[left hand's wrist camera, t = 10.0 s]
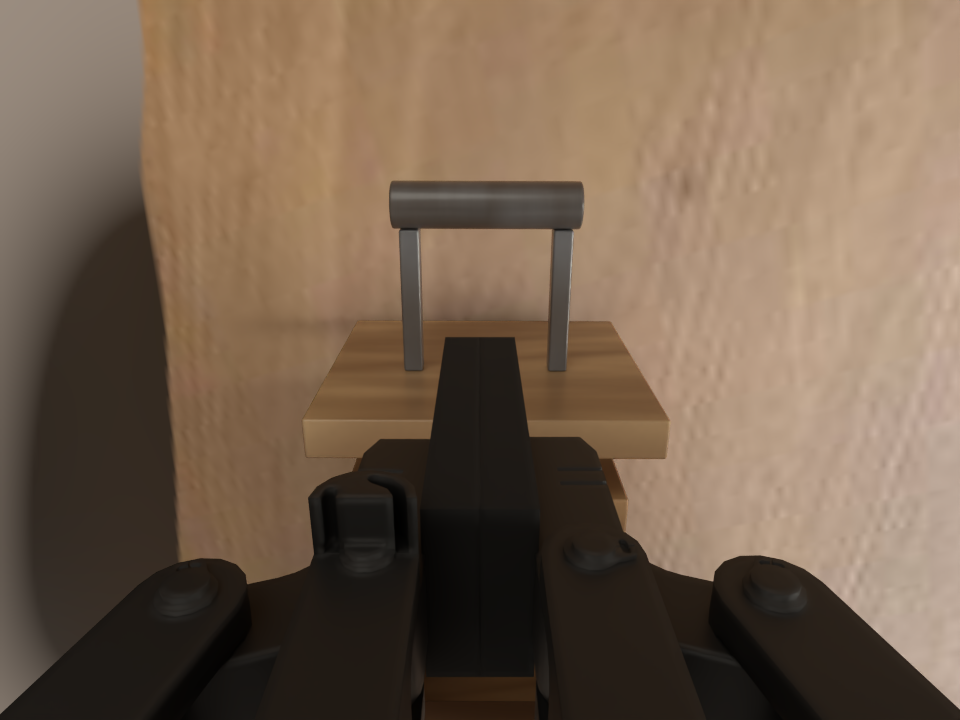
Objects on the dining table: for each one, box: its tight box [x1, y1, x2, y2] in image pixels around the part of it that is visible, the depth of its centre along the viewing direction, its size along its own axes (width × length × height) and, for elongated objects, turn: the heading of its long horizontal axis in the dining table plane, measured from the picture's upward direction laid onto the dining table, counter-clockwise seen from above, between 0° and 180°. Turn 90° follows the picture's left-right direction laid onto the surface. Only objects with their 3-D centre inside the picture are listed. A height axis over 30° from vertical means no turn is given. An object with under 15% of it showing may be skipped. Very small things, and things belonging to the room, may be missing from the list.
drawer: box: [302, 181, 671, 701], centre depth 24 cm, size 21×10×9 cm, turn 0°
